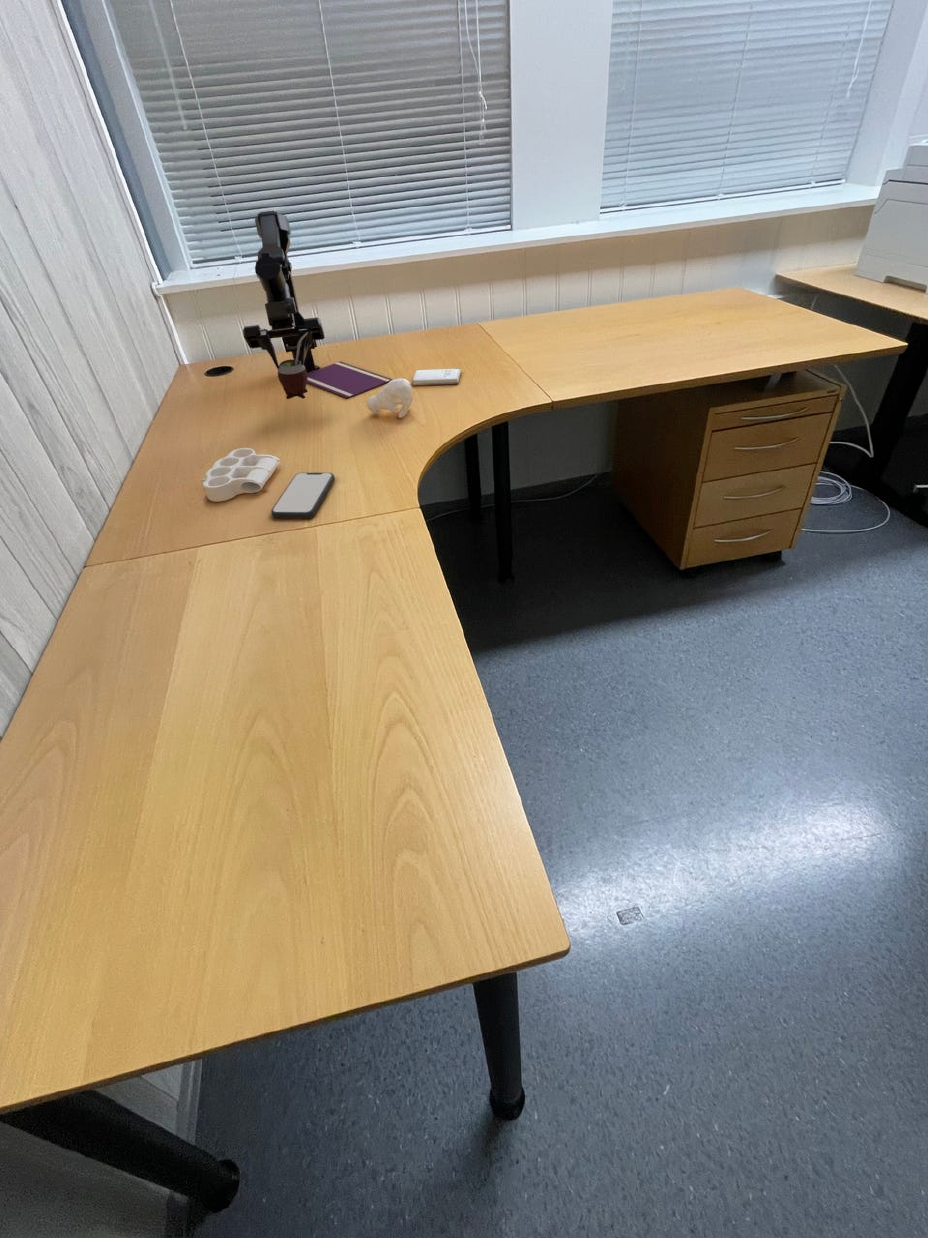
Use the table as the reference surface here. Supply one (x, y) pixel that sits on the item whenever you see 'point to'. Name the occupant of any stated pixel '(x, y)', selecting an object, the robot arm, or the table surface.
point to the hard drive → (436, 376)
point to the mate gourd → (293, 375)
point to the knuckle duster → (238, 474)
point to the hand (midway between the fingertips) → (289, 366)
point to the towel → (345, 379)
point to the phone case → (303, 495)
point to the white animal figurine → (392, 397)
